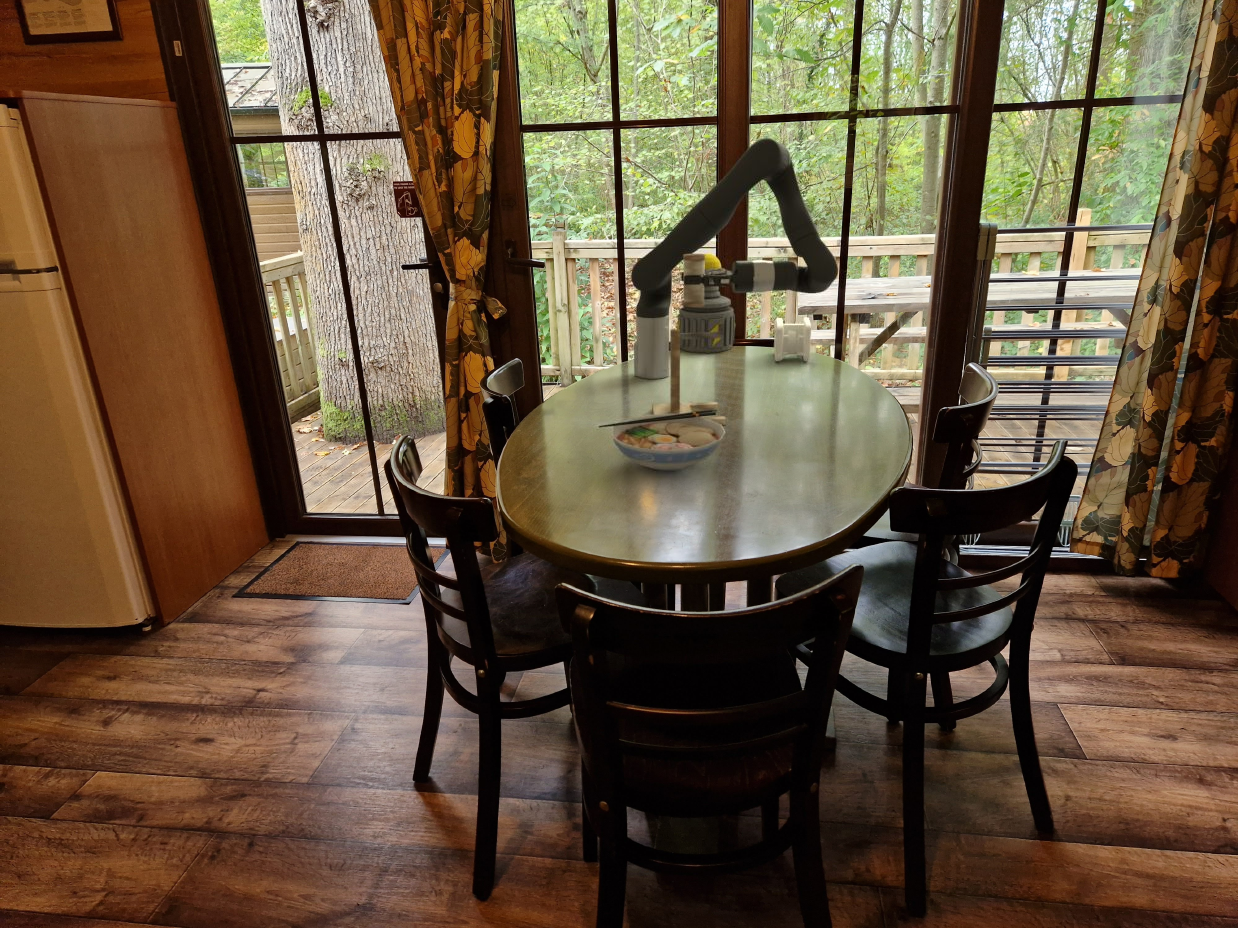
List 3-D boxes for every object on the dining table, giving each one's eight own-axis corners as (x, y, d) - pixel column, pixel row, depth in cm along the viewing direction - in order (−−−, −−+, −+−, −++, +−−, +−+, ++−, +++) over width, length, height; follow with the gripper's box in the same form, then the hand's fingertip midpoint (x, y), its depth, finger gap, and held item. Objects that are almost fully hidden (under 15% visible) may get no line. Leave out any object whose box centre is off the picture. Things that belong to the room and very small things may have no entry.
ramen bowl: (623, 494, 145) (622, 452, 142) (593, 453, 165) (592, 416, 162) (748, 477, 151) (750, 437, 148) (705, 440, 171) (705, 404, 168)
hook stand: (716, 407, 194) (718, 318, 186) (725, 425, 181) (728, 329, 173) (652, 410, 194) (651, 320, 186) (656, 427, 181) (655, 331, 173)
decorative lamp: (721, 339, 269) (723, 249, 259) (743, 351, 252) (746, 255, 242) (669, 344, 265) (669, 252, 254) (688, 355, 248) (688, 258, 237)
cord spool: (679, 306, 191) (679, 255, 187) (688, 303, 195) (688, 253, 191) (699, 307, 189) (700, 256, 184) (707, 304, 193) (708, 254, 189)
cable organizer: (809, 364, 233) (812, 325, 229) (773, 364, 235) (775, 325, 231) (806, 353, 247) (809, 316, 243) (772, 352, 249) (774, 316, 245)
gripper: (747, 257, 195) (679, 259, 195) (759, 264, 182) (686, 266, 182) (746, 288, 198) (679, 289, 198) (758, 297, 185) (686, 299, 184)
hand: (683, 278), depth 190 cm, fingers closed on cord spool, 5 cm apart
